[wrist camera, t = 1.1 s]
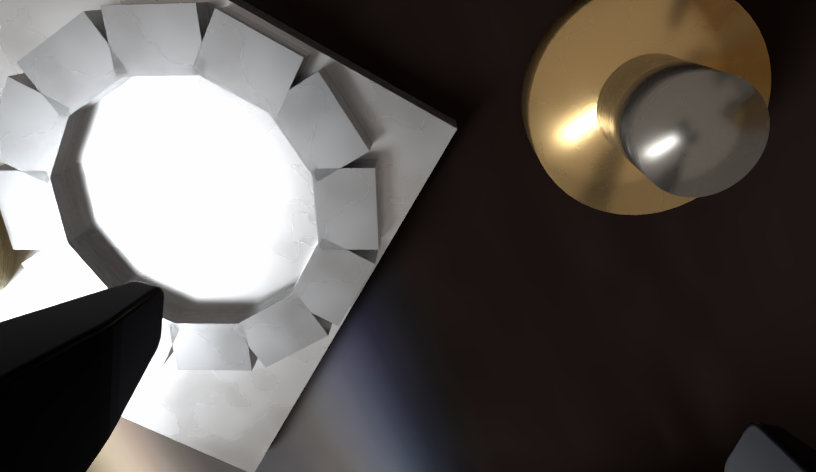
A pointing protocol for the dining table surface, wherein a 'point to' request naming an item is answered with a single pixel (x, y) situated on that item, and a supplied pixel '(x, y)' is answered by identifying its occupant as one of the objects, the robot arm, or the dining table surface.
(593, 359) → the dining table surface
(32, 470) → the robot arm
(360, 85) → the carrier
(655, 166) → the gear
